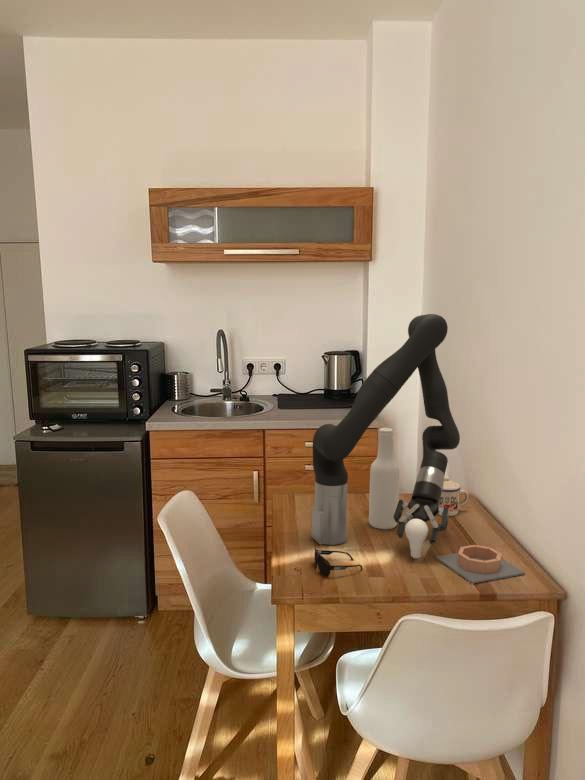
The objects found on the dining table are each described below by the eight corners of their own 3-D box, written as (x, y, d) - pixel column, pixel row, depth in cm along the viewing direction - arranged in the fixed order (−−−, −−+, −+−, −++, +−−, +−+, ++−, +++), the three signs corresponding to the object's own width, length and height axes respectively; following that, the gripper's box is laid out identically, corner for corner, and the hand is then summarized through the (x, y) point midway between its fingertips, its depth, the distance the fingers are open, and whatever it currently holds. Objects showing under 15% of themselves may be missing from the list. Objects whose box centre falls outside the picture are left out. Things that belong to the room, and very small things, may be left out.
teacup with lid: (434, 516, 203) (436, 481, 201) (427, 507, 212) (428, 473, 210) (471, 516, 203) (473, 481, 201) (463, 507, 212) (465, 473, 210)
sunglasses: (307, 563, 168) (310, 544, 168) (348, 562, 172) (351, 545, 172) (322, 580, 158) (325, 561, 158) (365, 579, 162) (368, 560, 162)
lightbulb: (429, 563, 168) (430, 523, 166) (405, 563, 168) (407, 523, 166) (424, 554, 174) (426, 515, 172) (402, 553, 174) (403, 515, 172)
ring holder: (472, 584, 156) (473, 570, 156) (435, 558, 171) (436, 546, 170) (524, 574, 162) (525, 561, 161) (484, 550, 177) (485, 538, 176)
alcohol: (395, 519, 200) (399, 426, 195) (399, 530, 191) (403, 432, 186) (367, 519, 200) (370, 425, 195) (369, 529, 191) (372, 432, 187)
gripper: (401, 476, 178) (386, 529, 170) (452, 483, 172) (440, 538, 164) (406, 489, 184) (392, 541, 175) (456, 497, 177) (444, 551, 169)
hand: (415, 539), depth 169 cm, fingers open, 8 cm apart
